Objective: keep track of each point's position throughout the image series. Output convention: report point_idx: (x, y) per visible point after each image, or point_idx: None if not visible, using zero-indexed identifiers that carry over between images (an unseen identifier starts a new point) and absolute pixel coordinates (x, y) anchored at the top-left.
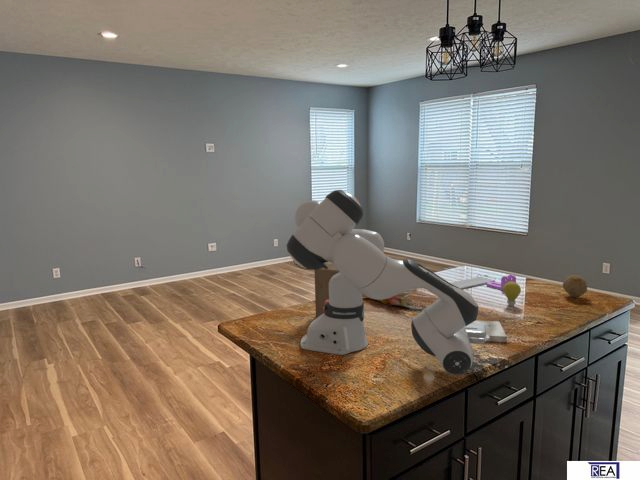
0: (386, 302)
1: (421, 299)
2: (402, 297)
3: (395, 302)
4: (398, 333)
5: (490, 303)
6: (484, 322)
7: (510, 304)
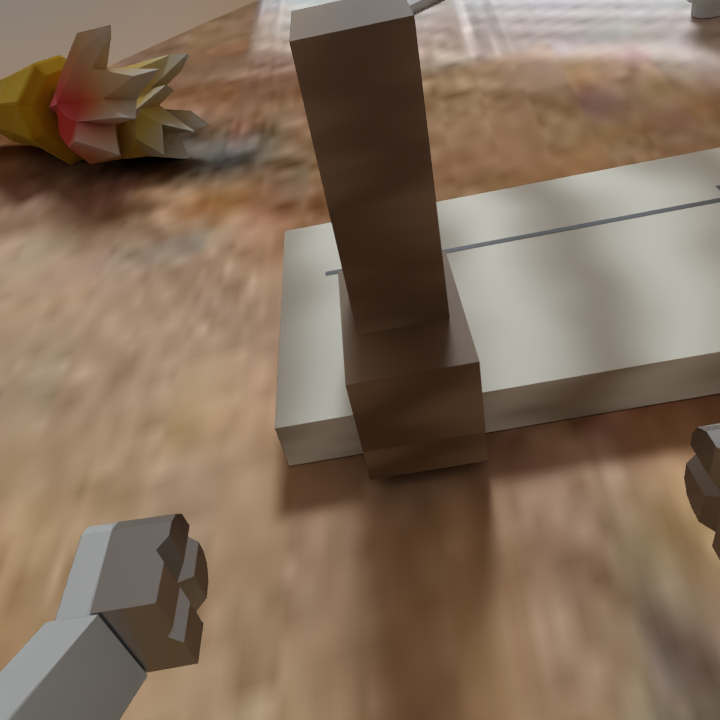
0: (75, 154)
1: (265, 90)
2: (123, 109)
3: (94, 149)
4: (22, 461)
5: (600, 28)
6: (672, 172)
7: (708, 7)
